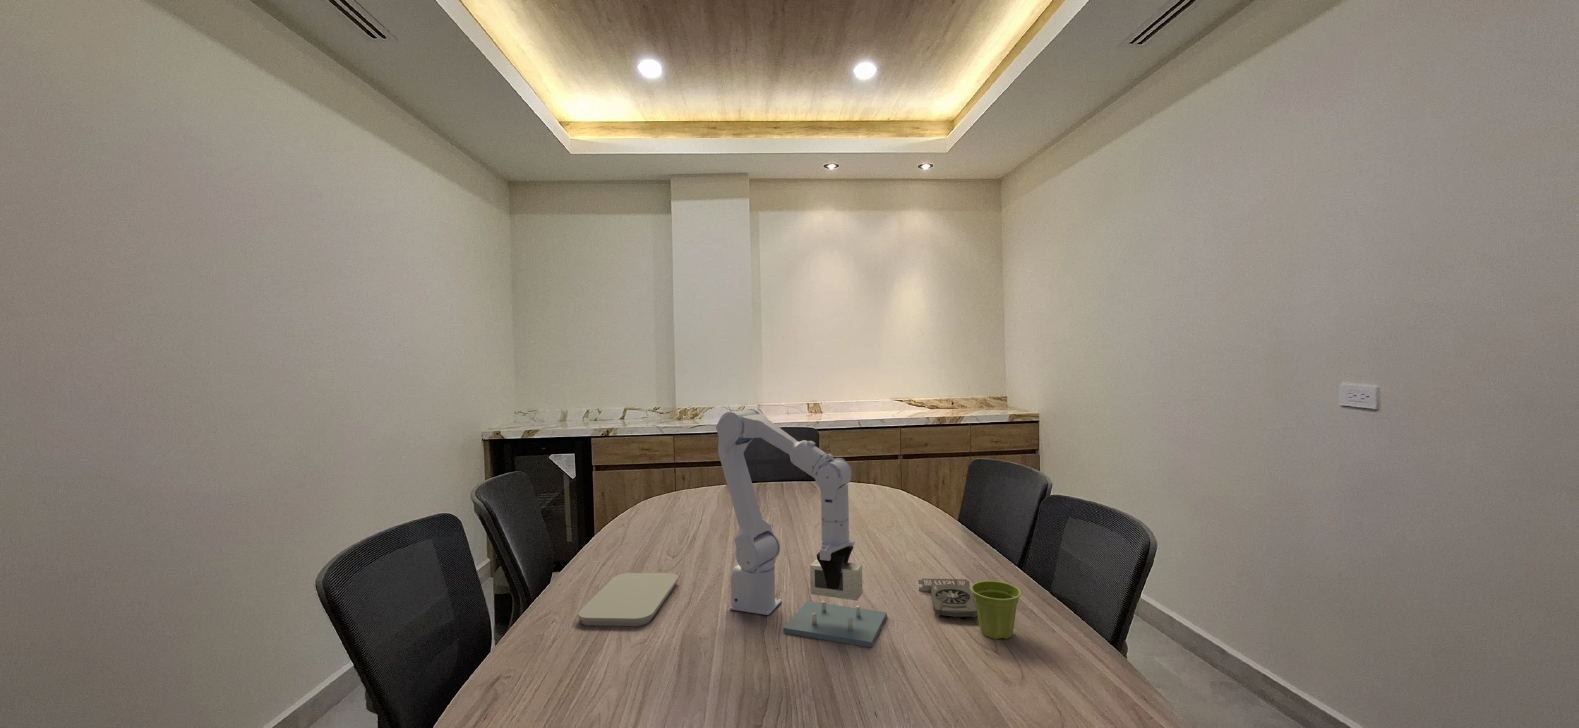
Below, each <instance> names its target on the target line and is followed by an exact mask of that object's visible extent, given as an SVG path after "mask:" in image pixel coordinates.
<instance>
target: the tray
mask: <svg viewBox="0 0 1579 728" xmlns="http://www.w3.org/2000/svg"><path fill="white" fill-rule="evenodd" d="M887 616H888V612H887V611H881V610H880V611H879V610H874V609H866V608H861V605H856V606H855V607H853V606H845V605H838V604H830V603H827V601H826V600H822V601H820V602H816V601H809V600H807V601H805V603H804V604H803V605H802V606H801V607H800V608H799V610H798V611H797V612H796V613H795V614H794V615H793V616H792V617H791V619H790V620H789V621H788V623H786V625H785V626H784V627H783V633H784V634H787V635H788V634H789V635H796V636H802V637H808V638H813V639H820V640H823V641H824V640H825V641H830V642H838V643H845V644H850V645H857V646H862V647H868V648H872V647H873V646H874V643H875V642H876V639H877V638H878V635H879V634H880V631H881V629H882V628H883V626H884V623H885V621H886V619H887Z"/></svg>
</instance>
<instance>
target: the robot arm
mask: <svg viewBox="0 0 1579 728" xmlns="http://www.w3.org/2000/svg"><path fill="white" fill-rule="evenodd" d="M715 429H716V433H717V435H718V443H717V444H718V445H717V452H718V457H719V462H720V463H721V468H722V471H723V474H724V479H725V481H726V484H727V485H726V486H727V488H728V492H729V497H730V499H731V502H732V506H733V509H734V514H735V516H736V519H737V523H738V527H739V528H738V530H737V532H736V534H735V537H734V543H735V559H736V563H737V564H735V566H734V567H733V569H732V572H731V576H730V577H731V578H730V599H731V600H730V603H731V604H730V607H729V609H730V610H732V611H739V612H744V613H752V614H757V615H765V616H770V614H771V613H772V612H773V611H774V610H775V609H776V608H777V607H778V606H779V605H780V604H781V603H782V601H783V600H782V599H781V598H776V577H775V575H776V573H775V572H776V570H775V568H776V567H775V564H776V558H777V557H778V555H779V554H780V552H781V544H780V540H779V538H778V537H777V536H776V534H775V533H774V531H773V528H772V526H771V525H770V523H768V522H767V521H765V520H764V519H763V517H762V513H761V509H760V506H759V502H758V499H757V496H756V495H757V494H756V492H755V488H754V486H753V482H752V478H751V474H750V472H749V468H748V465H747V460H746V458H745V455H744V453H745V451H746V449H747V447H748V445H749V444H750V443H751V442H752V441H753V440H754V439H757V438H758V439H759V438H761V439H762V440H764V441H765V442H767V443H769V444H771V445H772V446H774V447H775V448H778V449H779V450H781V451H782V452H784V453H786V454H788V455H789V458H790V459H789V460H790V463H791V464H793V466H796V467H797V468H799V469H800V470H801V471H802V472H805V473H806V474H807V475H809V476H811V477H812V478H813V479H814V480H815V483H816V484H817V487H818V488H819V491H820V493H819V494H820V525H821V527H820V531H821V532H820V533H821V538H820V549H819V552H818V553H817V554H816V559H817V560H818V562H819V563H820V565H821V567H822V570H823V573H824V576H825V581H826V585H827V588H829V589H838V586H839V580H840V571H841V567H842V563H843V562H847V563H849V559H850V556H851V553H852V551H853V550H854V545H855V543H856V540H853V539H850V538H851V537H850V524H849V523H850V522H849V521H850V520H849V517H850V516H849V515H850V514H849V512H850V511H849V509H850V508H849V483H850V482H851V480H852V478H853V469H852V466H851V465H850V464H849V462H847V461H846V459H844V458H842V457H835V458H834V455H833V454H831V453H830V452H829V453H827V452H825V451H823V450H822V449H820V448H819V447H817V446H816V442H814V441H813V440H804V439H803V440H801V441H798V440H797V439H795V438H794V437H793V436H792V435H790V434H789V433H788V432H787V431H785V430H783V429H782V428H780V427H779V426H778V425H776V423H773V422H772V421H771V420H770V419H769V418H768V417H767V415H765V414H764V413H760V412H759V410H757V409H754V408H750V409H749V408H748V409H744V410H739V411H727V412H725V413H723V414H722V415H721V416H720V418H719V420H718V421H717V424H716V426H715Z"/></svg>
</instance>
